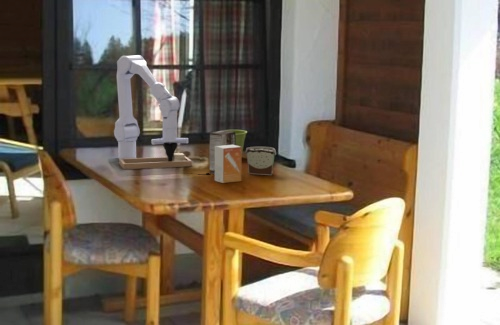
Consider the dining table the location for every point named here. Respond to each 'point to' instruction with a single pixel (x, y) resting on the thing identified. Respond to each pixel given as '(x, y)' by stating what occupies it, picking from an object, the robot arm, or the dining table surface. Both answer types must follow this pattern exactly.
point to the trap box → (152, 163)
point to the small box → (228, 163)
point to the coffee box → (220, 143)
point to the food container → (260, 160)
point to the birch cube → (178, 157)
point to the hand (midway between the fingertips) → (170, 161)
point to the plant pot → (239, 138)
